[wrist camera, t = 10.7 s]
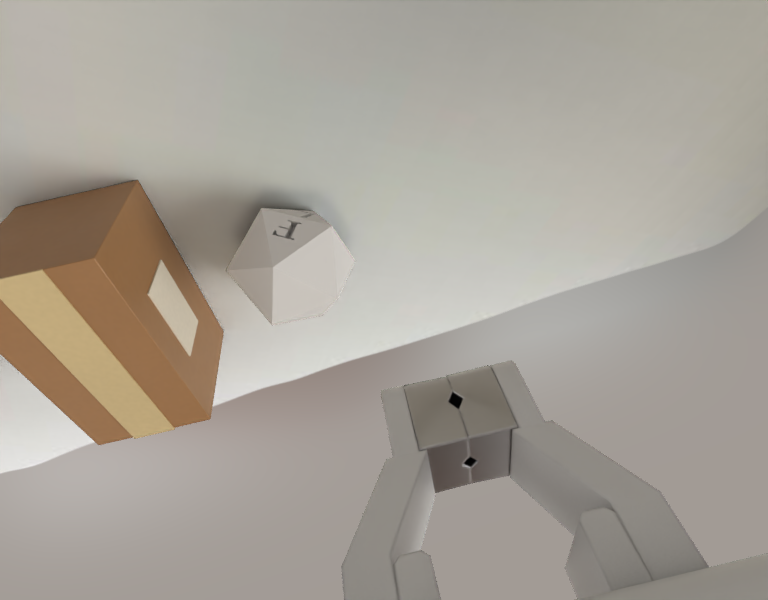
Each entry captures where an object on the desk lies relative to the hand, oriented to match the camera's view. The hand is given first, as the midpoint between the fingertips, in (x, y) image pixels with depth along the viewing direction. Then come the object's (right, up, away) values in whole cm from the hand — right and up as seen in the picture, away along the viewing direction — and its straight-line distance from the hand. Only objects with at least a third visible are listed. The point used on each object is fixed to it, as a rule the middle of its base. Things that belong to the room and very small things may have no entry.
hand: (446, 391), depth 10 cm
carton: (-22, +4, +28) cm, 36 cm away
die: (-9, +7, +28) cm, 30 cm away
